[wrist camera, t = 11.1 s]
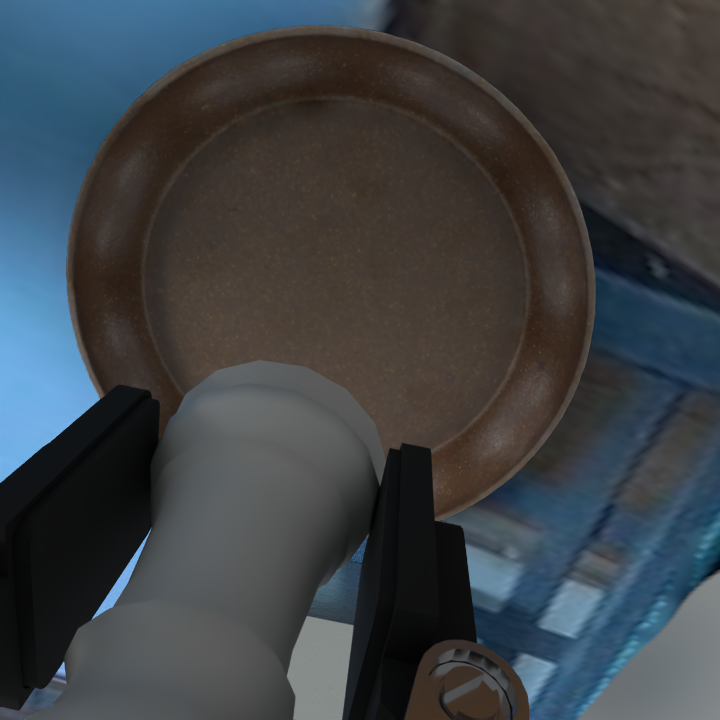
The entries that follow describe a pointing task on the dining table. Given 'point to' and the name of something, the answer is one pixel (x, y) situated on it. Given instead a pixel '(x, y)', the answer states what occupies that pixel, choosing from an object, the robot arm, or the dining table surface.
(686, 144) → the dining table surface
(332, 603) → the bench vise
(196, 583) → the rook chess piece
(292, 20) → the dining table surface
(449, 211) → the plant saucer
